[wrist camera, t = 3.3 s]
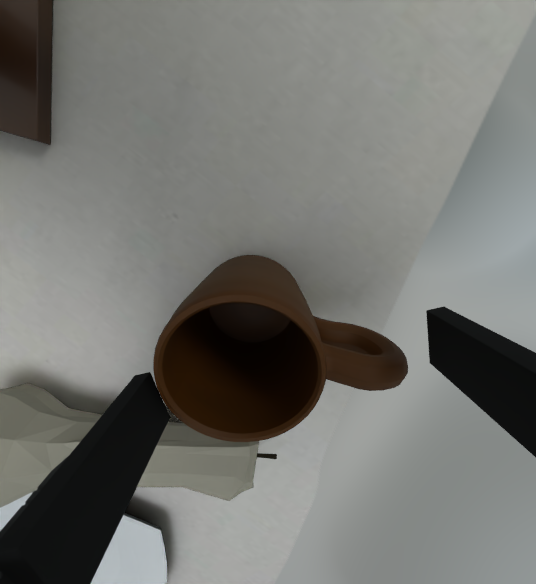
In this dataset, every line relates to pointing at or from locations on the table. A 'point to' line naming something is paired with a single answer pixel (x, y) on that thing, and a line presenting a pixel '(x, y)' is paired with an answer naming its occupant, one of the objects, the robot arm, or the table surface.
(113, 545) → the plate
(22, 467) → the faceted club
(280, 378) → the mug
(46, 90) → the pedestal tray stand
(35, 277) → the table surface
